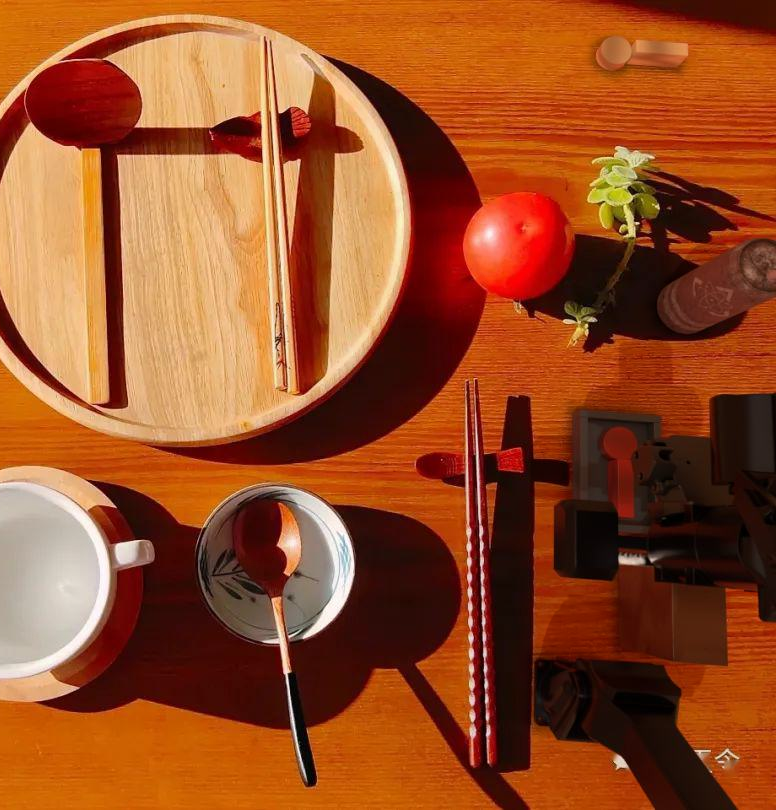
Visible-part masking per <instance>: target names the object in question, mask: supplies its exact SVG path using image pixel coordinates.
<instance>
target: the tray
mask: <svg viewBox="0 0 776 810" xmlns="http://www.w3.org/2000/svg"><path fill="white" fill-rule="evenodd" d="M614 427H624V428H626V429H628V430H630V431H631V432H632V433H633V434H634V436H635V437H636V440H637V448H638V447H640V446H642V444H643V442H644V441H645V440H649V441H653V440H654V439H655V438H662V416H661V415H658V414H656V415H655V414H644V413H630V412H618V411H607V410H606V411H605V410H594V409H578V410H575V411H573V412H572V450H571V451H572V467H571V468H572V469H571V471H572V472H571V473H572V477H571V478H572V481H571V482H572V486H571V487H572V488H571V490H572V491H571V492H572V493H571V494H572V495H571V496H572V498H571V499H581V500H594V501H607V461H610V460H608V459H606V458H605V457H604V456H603V455H602V454H601V453H600V451H599V448H598V439H599V437H600V435H601V434H602V433H603V432H604V431H605V430H607V429H611V428H614ZM628 460H631V458H630V459H628ZM633 486H634V518H625V519H620V518H618V534H630V535H631V534H632V535H642V536H647V533H648V530H649V528H650V526H651V525H652V524H653V520H648V519H647V503H658V498H657V497H656V494H653V493H652V491H651V489H650V488H649V487H647V486H639V485H638V484H637V483H636V482H635V479H634V474H633Z"/></svg>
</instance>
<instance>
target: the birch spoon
mask: <svg viewBox="0 0 776 810" xmlns="http://www.w3.org/2000/svg"><path fill="white" fill-rule="evenodd" d="M688 56H689V43H687V42H686V43H685V42H673V41H661V40H660V41H658V40H647V39H636V40H635V41H634V42H633V43H632V45H631V44H630V42H629V41H628V40H627V39H626V38H624V37H622V36H618V35H612V36H608V37H607V38H606V39H604V40H603V41H602V43H601V44H600V45H599V46H598V48H597V50H596V53H595V60H596V62H597V64H598V65H599V66H600V67H601V68H603V70H606V71H611V72H615V71H618V70H620V69H622V68H623V67H624V66H625V65H633V66H634V65H635V66H648V67H659V68H660V67H661V68H674V69H677V68H678V67H679V66H680V65H681V64H683V62H684V61H685V60H686V59H687V58H688Z"/></svg>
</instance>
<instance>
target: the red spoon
mask: <svg viewBox="0 0 776 810" xmlns="http://www.w3.org/2000/svg"><path fill="white" fill-rule="evenodd" d="M598 448H599V451H600V453H601V454H602V455H603V456H604V457H605V458H606V459H608V460H610V461H607V502H613V504H614V506H615V508H616V510H617V512H618V518H620V519H625V518H634V486H633V469H632V464H631V460H628V459H630V458H631V455H632V453H633V452H634V451H635V450H636V449H637V440H636V437H635V436H634V434H633V433H632V432H631V431H630V430H628V429H626V428H624V427H614V428H611V429H607V430H605V431H604V432H603V433H602V434H601V435H600V437H599V439H598Z"/></svg>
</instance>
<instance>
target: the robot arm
mask: <svg viewBox="0 0 776 810" xmlns="http://www.w3.org/2000/svg"><path fill="white" fill-rule="evenodd" d="M708 412H709V415H708V416H709V417H708V418H709V436H697V435H684V434H671V435H669V436H667V437H661V438H655V439H654V440H653V441H649V440H645V441H644V442H643V444H642V446H640V447H638V448H637V449H636V450H635V451H634V452H633V453H632V455H631V464H632V469H633V474H634V479H635V482H636V483H637V484H638V485H639V486H647V487H649V488H650V489H651V491H652V493H653V494H656V497H657V498H658V503H647V519H648V520H653V524H652V525H651V526H650V528H649V530H648V533H647V535H646V536H635V535H634V536H633V535H623V534H622V535H620V534H619V533H618V512H617V510H616V508H615V506H614V504H613V502H607V501H594V500H581V499H572V498H564V499H560V500H559V501H557V503H555V505H553V571H554V572H555V573H556V574H557V575H558V576H559V577H560V578H567V579H579V580H590V581H591V580H592V581H601V582H602V581H604V582H605V581H606V582H614V580H615V578H616V576H617V575H618V570H619V565H632V566H645V567H654V582H663V583H676V584H685V585H692V586H704V587H717V588H726V589H729V590H736V591H737V590H738V591H743V592H747V593H757V607H758V608H757V609H758V611H757V612H758V618H759V620H760V621H761V622H763V623H769V624H770V623H772V624H776V391H775V392H761V393H759V392H758V393H757V392H755V393H740V394H734V393H720V394H716V395H714V396H711V397H710V398H709V399H708ZM619 549H632V550H645V551H647V554H648V555H647V554H643V555H642V554H641V553H638V555H637V553H633V555H632V553H631V552H628V554H627V552H623V554H622V552H619ZM539 663H541V664H540V665H539ZM682 694H683V692H682V688H681V687H680V686H679V685H677V684H676V683H675V682H674V681H673V680H672V678H671V677H670V676H669V674H668V672H667V670H666V667H665V665H664V664H656V663H652V662H647V661H646V662H645V661H634V660H620V659H608V658H596V657H583V656H578V657H575V656H563V655H556V656H555V657H554V659H552V658H536V659H535V660H534V664H533V722H534V723H535V725H537V726H539V727H547V728H549V730H550V731H551V733H552V734H553V736H554V737H555V740H556V741H558V742H559V741H561V742H571V743H586V744H599V745H601V746H602V747H604V748H606V749H608V750H609V751H611V752H613V753H614V754H615V755H617V756H619V757H621V758H622V759H623V761H624V762H625V764H626V766H627V767H628V768H629V770H630V772H631V774H632V776H633V777H634V778H635V779H636V781H637V783H638V785H639V787H640V788H641V790H642V791H643V793H644V795H645V796H646V798H647V799H648V801H649V802H650V804H651V806H652V807H653V810H740V809H739V808H738V807H737V805H736V804H735V803H734V801H733V800H732V798H730V796H729V795H728V793H727V791H725V789H724V788H723V787H722V785H721V784H720V783H719V781H718V780H717V779H716V777H715V776H714V775H713V773H712V772H711V771H710V769H709V768H708V767H707V766H706V764H705V762H704V761H703V760H702V758H701V757H700V756H699V755H698V753H697V752H696V751H695V749H694V748H693V747H692V745H691V744H690V743H689V741H688V740H687V739H686V737H685V736H684V735H683V733H682V732H681V730H680V729H679V727H678V718H679V710H680V700H681V697H682ZM539 719H540V721H539Z"/></svg>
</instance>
